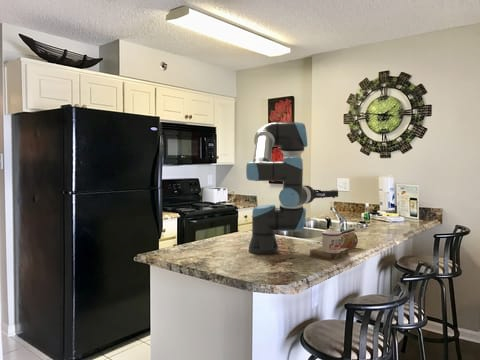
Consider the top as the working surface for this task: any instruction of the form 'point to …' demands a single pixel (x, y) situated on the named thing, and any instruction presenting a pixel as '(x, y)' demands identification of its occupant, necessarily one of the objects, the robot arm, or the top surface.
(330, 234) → the teacup with lid
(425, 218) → the top surface
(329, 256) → the board
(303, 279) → the top surface
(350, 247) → the brown flat oval piece
